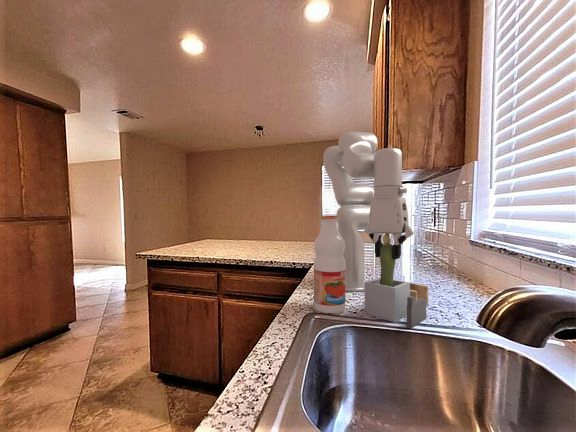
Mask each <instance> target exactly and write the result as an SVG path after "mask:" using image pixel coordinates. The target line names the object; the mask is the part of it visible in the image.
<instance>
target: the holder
mask: <svg viewBox="0 0 576 432" xmlns="http://www.w3.org/2000/svg"><path fill="white" fill-rule="evenodd" d="M410 296H413V297H415V301H416V300H418V299H420V298H426V307H428V306H429V285H425V284H419V283H414V282H410Z"/></svg>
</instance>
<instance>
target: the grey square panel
mask: <svg viewBox="0 0 576 432" xmlns="http://www.w3.org/2000/svg"><path fill="white" fill-rule="evenodd" d="M426 319H427V306H426V298H420V299H418V300H416V301H415V297H413V296H409V297H407V316H406V328H409V329H413V328H414V327H416V326H418V325H419V324H420V323H421V322H423V321H425V320H426Z"/></svg>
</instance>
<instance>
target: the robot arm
mask: <svg viewBox="0 0 576 432" xmlns="http://www.w3.org/2000/svg"><path fill="white" fill-rule="evenodd" d="M377 148H378V139H377V136H376V135H375V134H374V133H372V132H368V131H367V132H365V131H347V132H344V133H343V134H342V135H341V136H340V137H339V139H338V145H332V146H329V147H327V148H326V149H324V151H323V166H324V169H325V172H326V174H327V176H328V178H329V180H330V181H331V186H332V190H333V194H334V198H335V201H336V203H337V205H338V206H340V207H339V208H337V210H336V214H335V215H336V216H338V221H337V227H338V230H339V233H340V235H341V237H342V238H343V240H344V242H345V250H344V253H343V256H344V259H345V266H346V271H345V292H363V291H364V292H365V241H364V237H363V236H362V235H361V233H360V231H362V230H364V233H365V234H366V235H367V236H368V237H369V239H371V241H372V243H373V244H374V254H375V258H380V248H381V246H382V245H383V244H384V242H382V241H383V236H384V235H383V234H385V233H388V234H389V235H390V234H392V238H393V244H392V245H393V246H392V259H395V260H396V261H397V260H400V257H401V255H402V245H403V244H404V243H405V242H406V240H408V239H409V238H411V237H412V236H413V235H415V233H414V231H413V230H412V228H411V226H410V225H409V213H408V212H409V210H408V205H407V201H406V197H403V194H406V193H407V192H408V189H407V188H406V187H403V153H402V151H401V149H399V148H396V147H395V148H394V147H386V148H381V149H378V150H377ZM353 178H354V179H373V186H372V184H367V183H356V182H354V181H353Z"/></svg>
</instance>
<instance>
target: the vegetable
mask: <svg viewBox="0 0 576 432" xmlns="http://www.w3.org/2000/svg"><path fill="white" fill-rule="evenodd" d="M383 234H384V235H383V236H382V243H383V245H382V246H381V248H380V257H379V260H380V262H379V263H380V277H379V278H380V284H381V285H386V286H391V287H393V279H394V276H395V275H394V274H395V273H394V272H395V267H396V261H397V259H396V260H395V259H392V246H393V245H394V244H391V240H392V239H391V236H390V234H388V233H383Z"/></svg>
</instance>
